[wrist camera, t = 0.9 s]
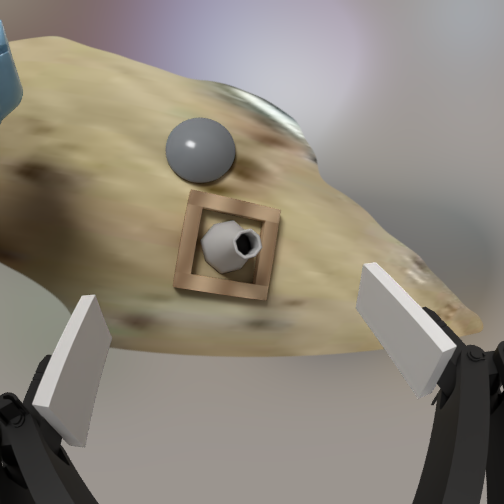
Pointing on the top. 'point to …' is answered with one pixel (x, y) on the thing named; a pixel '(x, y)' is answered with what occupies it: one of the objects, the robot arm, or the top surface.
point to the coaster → (200, 150)
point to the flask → (229, 246)
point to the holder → (189, 239)
